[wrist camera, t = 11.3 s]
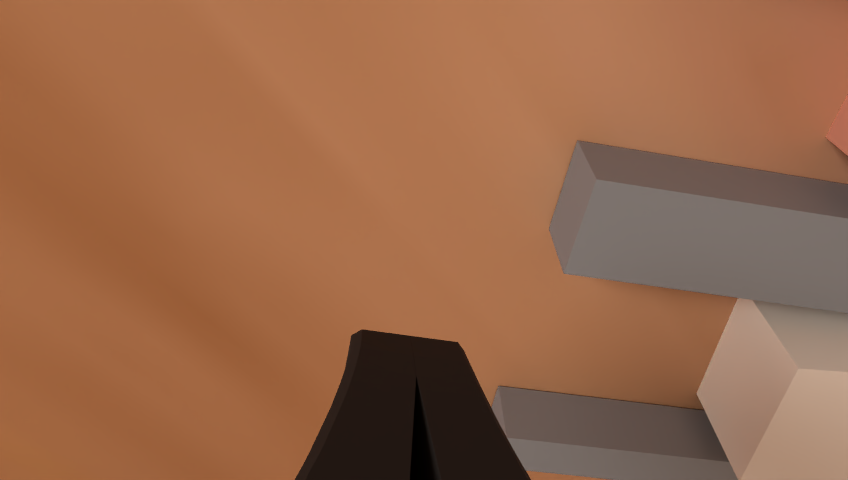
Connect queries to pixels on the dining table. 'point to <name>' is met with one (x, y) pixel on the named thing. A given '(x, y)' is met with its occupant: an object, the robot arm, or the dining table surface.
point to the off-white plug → (780, 392)
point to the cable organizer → (677, 269)
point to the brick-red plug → (840, 128)
